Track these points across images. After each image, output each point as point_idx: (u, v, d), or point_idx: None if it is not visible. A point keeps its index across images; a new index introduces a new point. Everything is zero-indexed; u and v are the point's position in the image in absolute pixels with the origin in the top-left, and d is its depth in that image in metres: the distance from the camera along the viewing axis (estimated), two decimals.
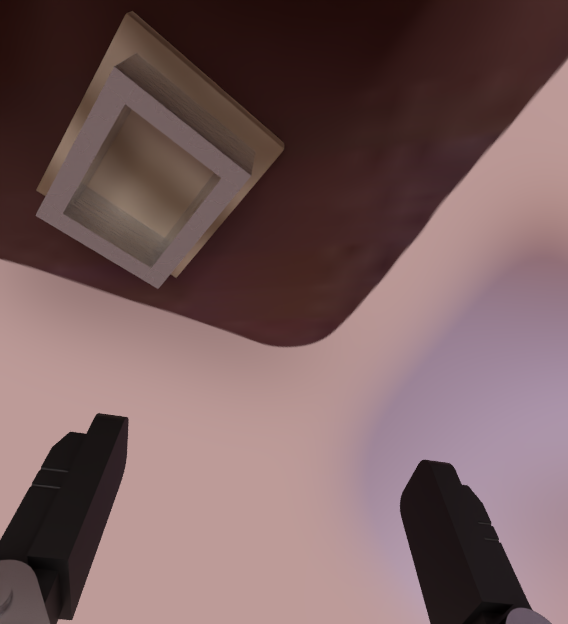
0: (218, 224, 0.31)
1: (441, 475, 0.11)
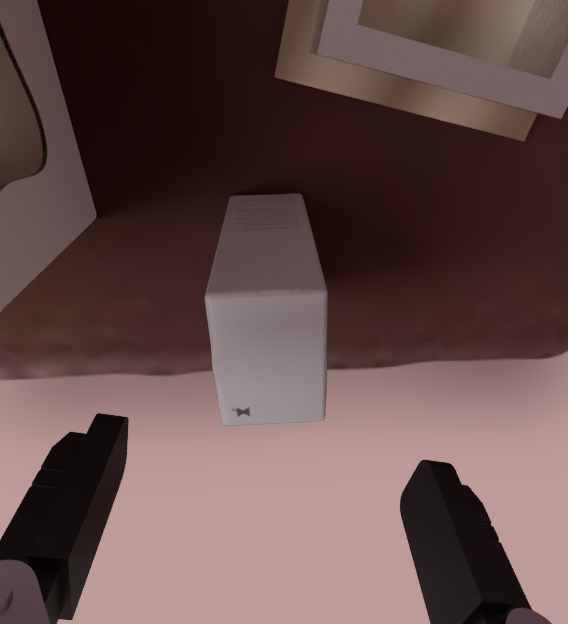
0: None
1: (441, 475, 0.11)
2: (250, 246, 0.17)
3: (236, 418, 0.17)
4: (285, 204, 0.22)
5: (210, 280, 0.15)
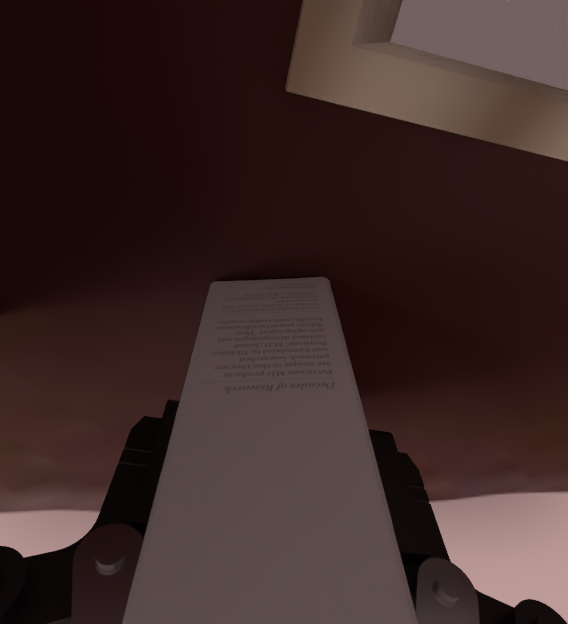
0: None
1: (379, 442, 0.12)
2: (234, 460, 0.08)
3: None
4: (302, 309, 0.13)
5: None
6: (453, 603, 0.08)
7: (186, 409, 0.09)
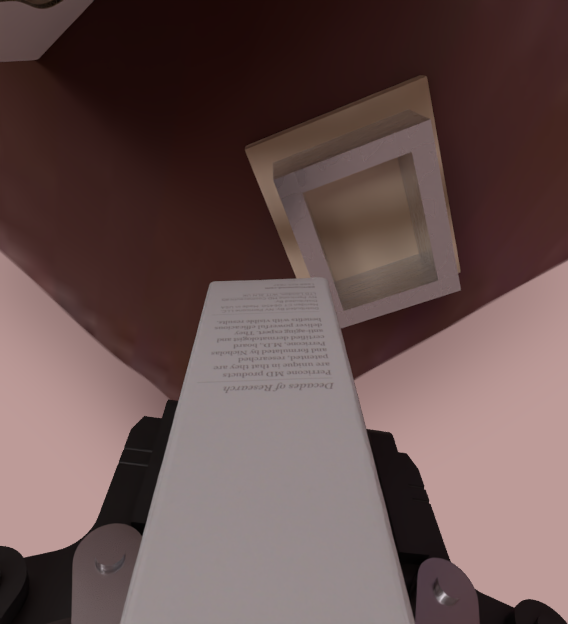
0: (445, 194, 0.28)
1: (379, 442, 0.12)
2: (233, 461, 0.08)
3: None
4: (302, 310, 0.13)
5: None
6: (453, 603, 0.08)
7: (185, 409, 0.09)
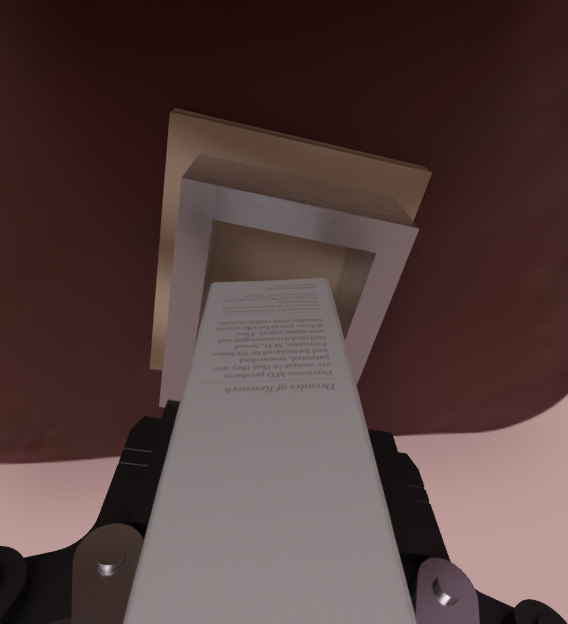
0: None
1: (379, 442, 0.12)
2: (234, 461, 0.08)
3: None
4: (303, 310, 0.13)
5: None
6: (453, 603, 0.08)
7: (186, 410, 0.09)
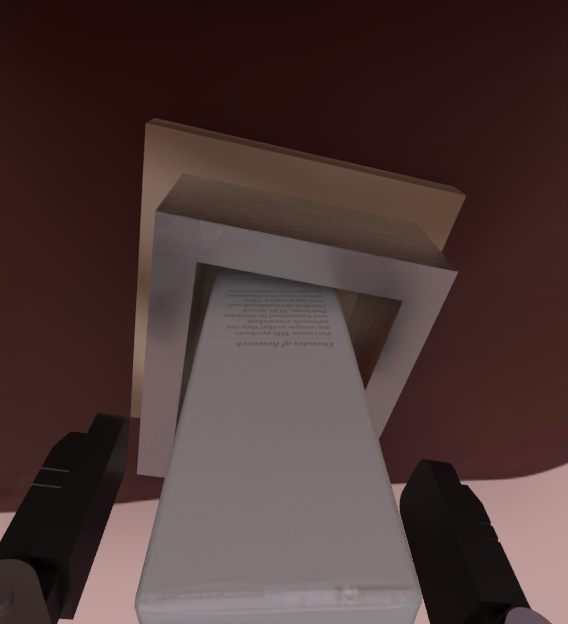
0: None
1: (441, 475, 0.11)
2: (247, 398, 0.09)
3: None
4: (304, 284, 0.14)
5: (156, 528, 0.07)
6: None
7: (202, 358, 0.11)
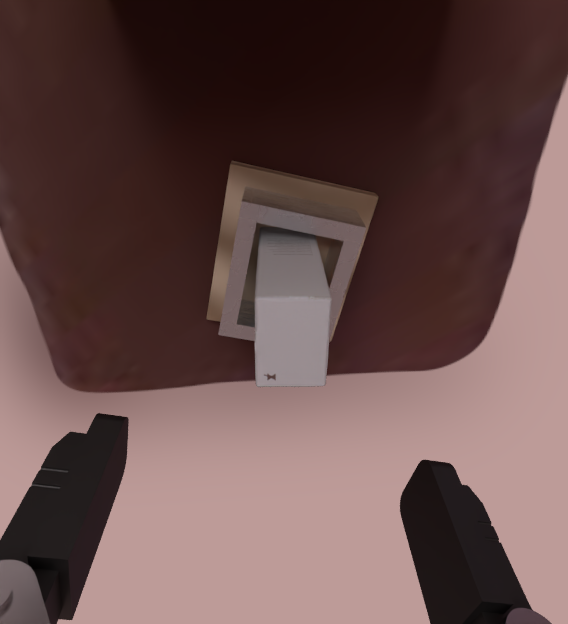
0: (349, 281, 0.35)
1: (441, 475, 0.11)
2: (279, 266, 0.26)
3: (266, 381, 0.25)
4: (301, 236, 0.31)
5: (257, 288, 0.23)
6: None
7: (261, 257, 0.27)
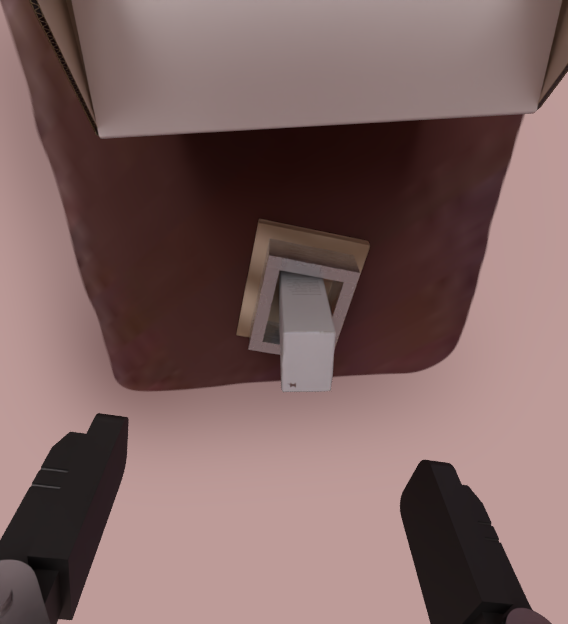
0: None
1: (441, 475, 0.11)
2: (298, 305, 0.36)
3: (289, 388, 0.35)
4: (312, 277, 0.41)
5: (283, 325, 0.33)
6: None
7: (284, 297, 0.37)
